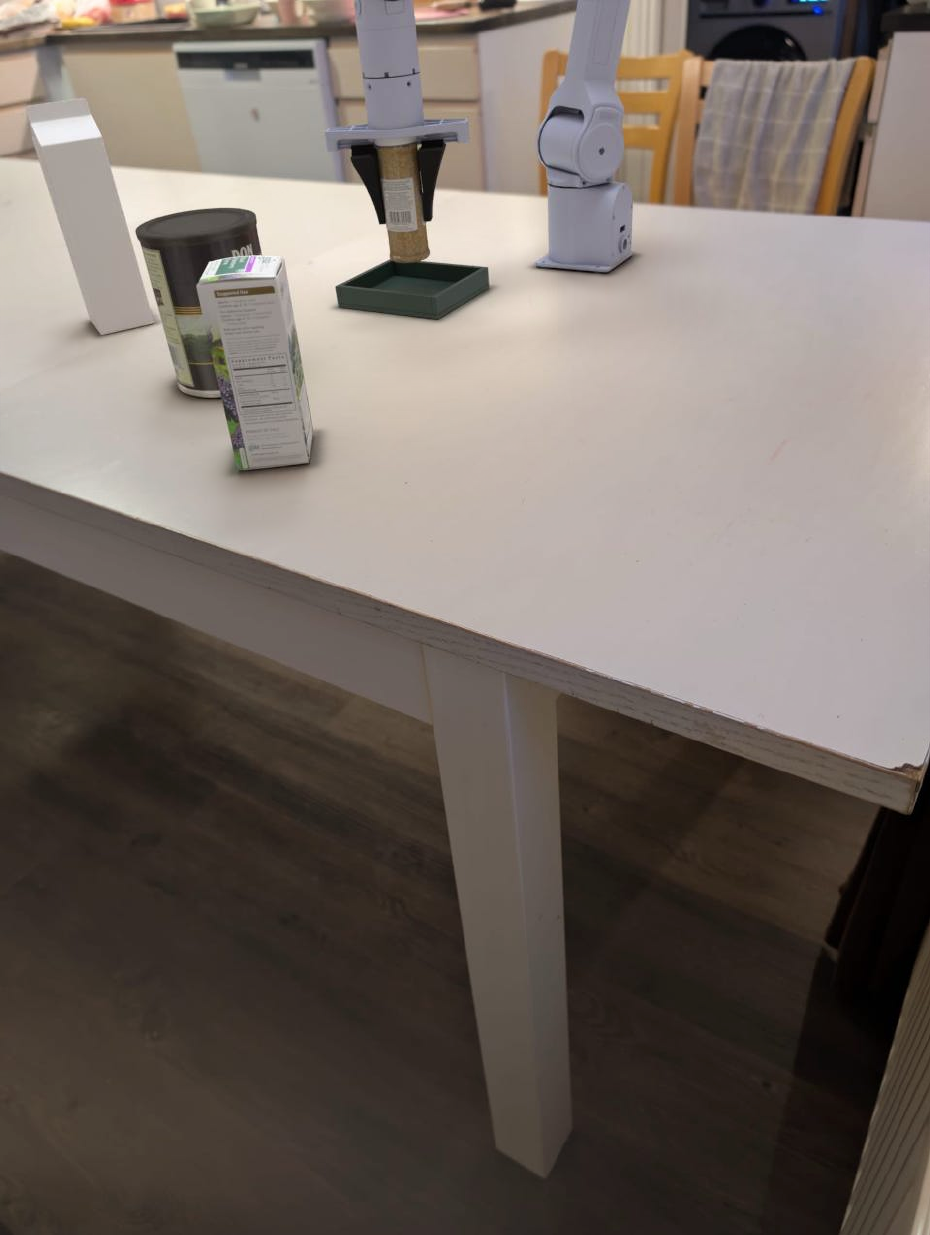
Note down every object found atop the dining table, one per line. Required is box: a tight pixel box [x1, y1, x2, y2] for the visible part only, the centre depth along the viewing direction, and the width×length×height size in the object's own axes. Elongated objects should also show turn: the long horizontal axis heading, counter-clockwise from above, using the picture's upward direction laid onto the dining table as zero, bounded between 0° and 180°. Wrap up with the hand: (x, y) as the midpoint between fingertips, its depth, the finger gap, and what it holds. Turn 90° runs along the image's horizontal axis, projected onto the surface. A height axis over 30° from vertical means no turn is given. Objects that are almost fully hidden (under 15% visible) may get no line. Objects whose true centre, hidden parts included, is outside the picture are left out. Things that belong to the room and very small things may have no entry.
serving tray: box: [334, 258, 490, 320], centre depth 102 cm, size 13×11×2 cm
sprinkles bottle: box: [374, 136, 431, 263], centre depth 96 cm, size 5×5×14 cm
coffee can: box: [134, 207, 263, 399], centre depth 83 cm, size 10×10×14 cm
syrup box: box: [196, 254, 314, 471], centre depth 68 cm, size 6×6×14 cm
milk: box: [25, 97, 155, 336], centre depth 96 cm, size 6×6×22 cm
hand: (406, 220), depth 97 cm, fingers closed on sprinkles bottle, 4 cm apart
